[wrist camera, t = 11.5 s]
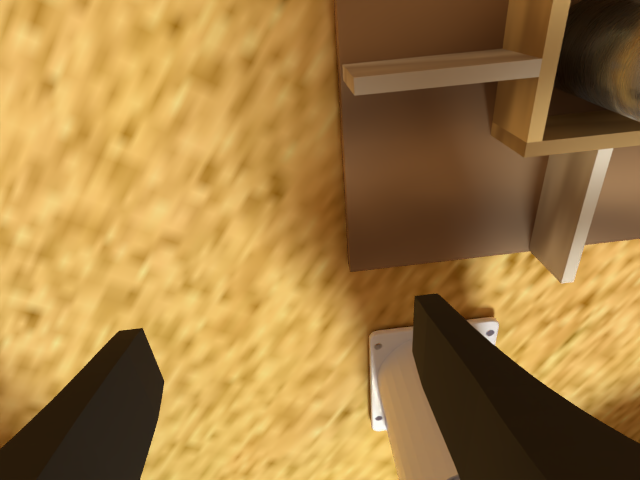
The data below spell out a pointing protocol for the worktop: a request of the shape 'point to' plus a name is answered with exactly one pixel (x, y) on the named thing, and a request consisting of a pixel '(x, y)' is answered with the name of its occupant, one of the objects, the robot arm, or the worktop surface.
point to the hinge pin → (602, 55)
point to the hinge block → (474, 137)
